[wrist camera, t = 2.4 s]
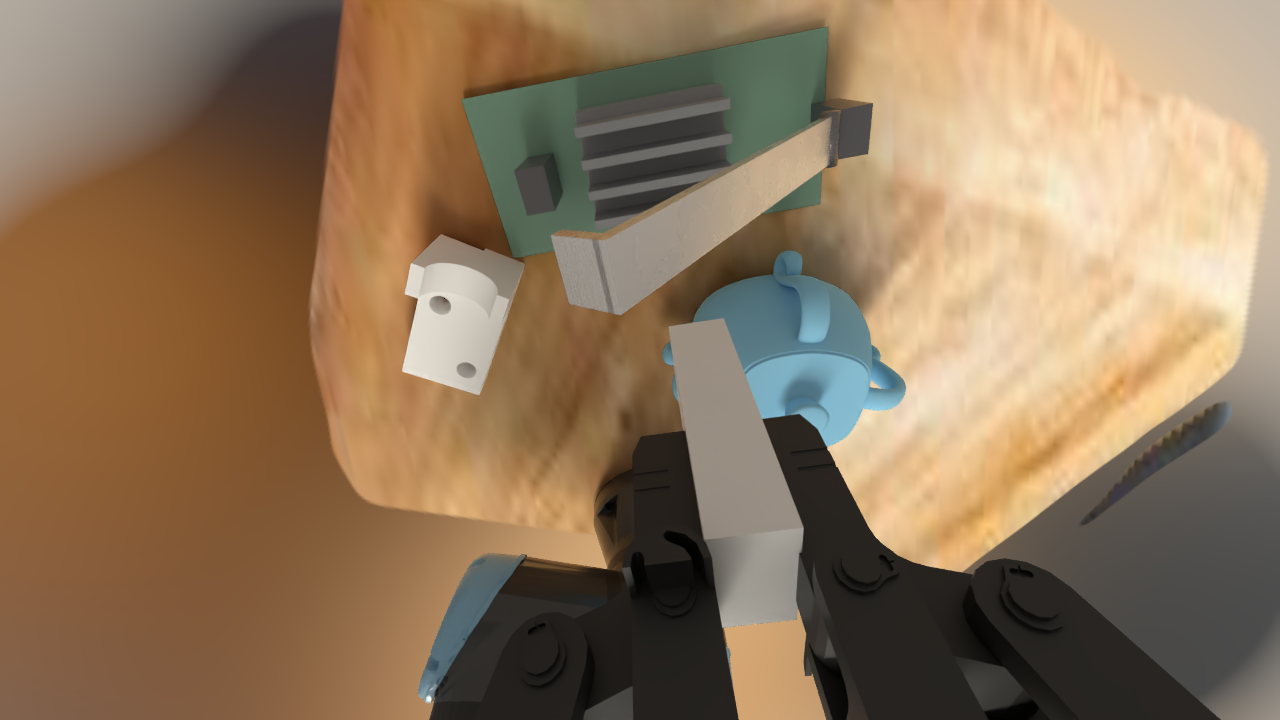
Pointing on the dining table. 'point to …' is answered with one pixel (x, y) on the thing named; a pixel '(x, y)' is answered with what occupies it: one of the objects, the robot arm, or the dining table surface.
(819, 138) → the strap
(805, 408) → the decorative pot
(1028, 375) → the dining table surface
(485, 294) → the bracket
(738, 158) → the heatsink board
